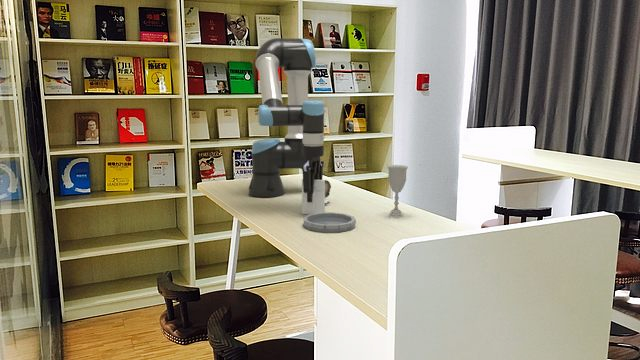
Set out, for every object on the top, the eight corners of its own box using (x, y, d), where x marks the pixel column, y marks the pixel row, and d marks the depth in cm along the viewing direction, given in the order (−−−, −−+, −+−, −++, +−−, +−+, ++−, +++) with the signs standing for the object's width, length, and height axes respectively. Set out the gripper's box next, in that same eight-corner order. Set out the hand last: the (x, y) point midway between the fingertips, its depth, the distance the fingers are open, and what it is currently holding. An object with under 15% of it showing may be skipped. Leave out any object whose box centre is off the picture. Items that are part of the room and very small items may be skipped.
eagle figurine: (321, 200, 213) (321, 178, 212) (335, 203, 208) (335, 181, 207) (308, 204, 208) (308, 181, 206) (321, 206, 203) (322, 183, 201)
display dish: (294, 228, 172) (294, 221, 172) (317, 217, 187) (317, 210, 187) (342, 235, 165) (343, 227, 165) (362, 222, 180) (362, 215, 180)
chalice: (407, 215, 191) (409, 165, 188) (404, 219, 185) (406, 168, 181) (387, 213, 193) (389, 164, 190) (383, 217, 187) (385, 167, 184)
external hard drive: (302, 212, 193) (302, 179, 191) (324, 213, 193) (324, 179, 190) (301, 214, 192) (301, 180, 189) (324, 214, 191) (324, 180, 189)
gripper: (312, 148, 179) (312, 215, 183) (332, 143, 193) (331, 206, 197) (293, 146, 182) (293, 213, 186) (313, 141, 196) (313, 204, 200)
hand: (312, 209), depth 192 cm, fingers open, 3 cm apart
